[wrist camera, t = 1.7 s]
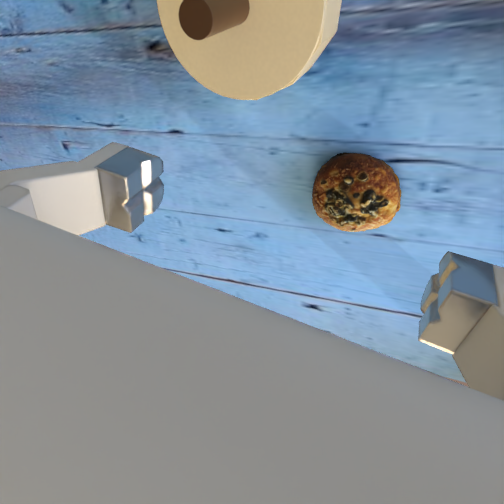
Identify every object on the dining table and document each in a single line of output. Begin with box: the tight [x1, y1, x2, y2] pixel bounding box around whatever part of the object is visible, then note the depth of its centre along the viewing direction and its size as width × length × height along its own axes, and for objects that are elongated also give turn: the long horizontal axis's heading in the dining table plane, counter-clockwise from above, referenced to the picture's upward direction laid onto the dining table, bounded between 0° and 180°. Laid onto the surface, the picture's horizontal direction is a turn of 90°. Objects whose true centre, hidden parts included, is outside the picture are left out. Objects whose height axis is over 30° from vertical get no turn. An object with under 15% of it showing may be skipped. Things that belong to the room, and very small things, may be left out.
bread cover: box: [157, 0, 342, 100], centre depth 36 cm, size 17×17×15 cm
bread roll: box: [312, 153, 401, 232], centre depth 49 cm, size 11×11×5 cm
